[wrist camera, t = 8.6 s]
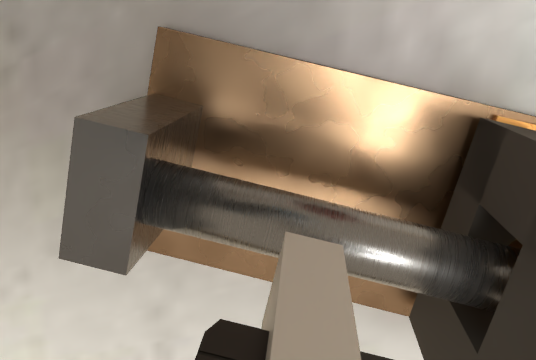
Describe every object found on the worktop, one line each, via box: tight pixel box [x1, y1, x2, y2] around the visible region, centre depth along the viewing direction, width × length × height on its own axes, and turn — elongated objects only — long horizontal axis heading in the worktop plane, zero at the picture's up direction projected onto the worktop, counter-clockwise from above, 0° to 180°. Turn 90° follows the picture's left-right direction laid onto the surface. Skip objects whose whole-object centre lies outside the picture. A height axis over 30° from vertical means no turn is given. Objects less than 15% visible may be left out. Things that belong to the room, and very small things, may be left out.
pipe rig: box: [59, 27, 536, 316], centre depth 20 cm, size 23×11×9 cm, turn 77°
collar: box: [409, 117, 536, 360], centre depth 17 cm, size 2×10×10 cm, turn 167°
